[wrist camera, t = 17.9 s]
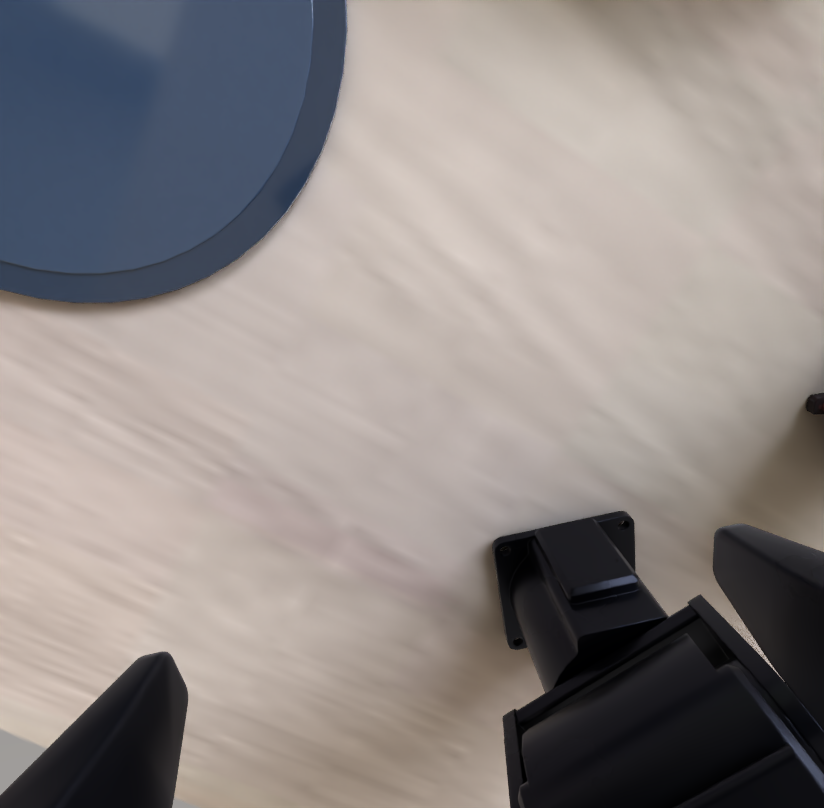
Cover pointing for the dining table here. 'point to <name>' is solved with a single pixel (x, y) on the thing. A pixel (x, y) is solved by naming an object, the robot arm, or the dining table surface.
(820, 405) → the mate gourd
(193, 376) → the dining table surface
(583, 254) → the dining table surface
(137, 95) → the plate
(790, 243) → the dining table surface
